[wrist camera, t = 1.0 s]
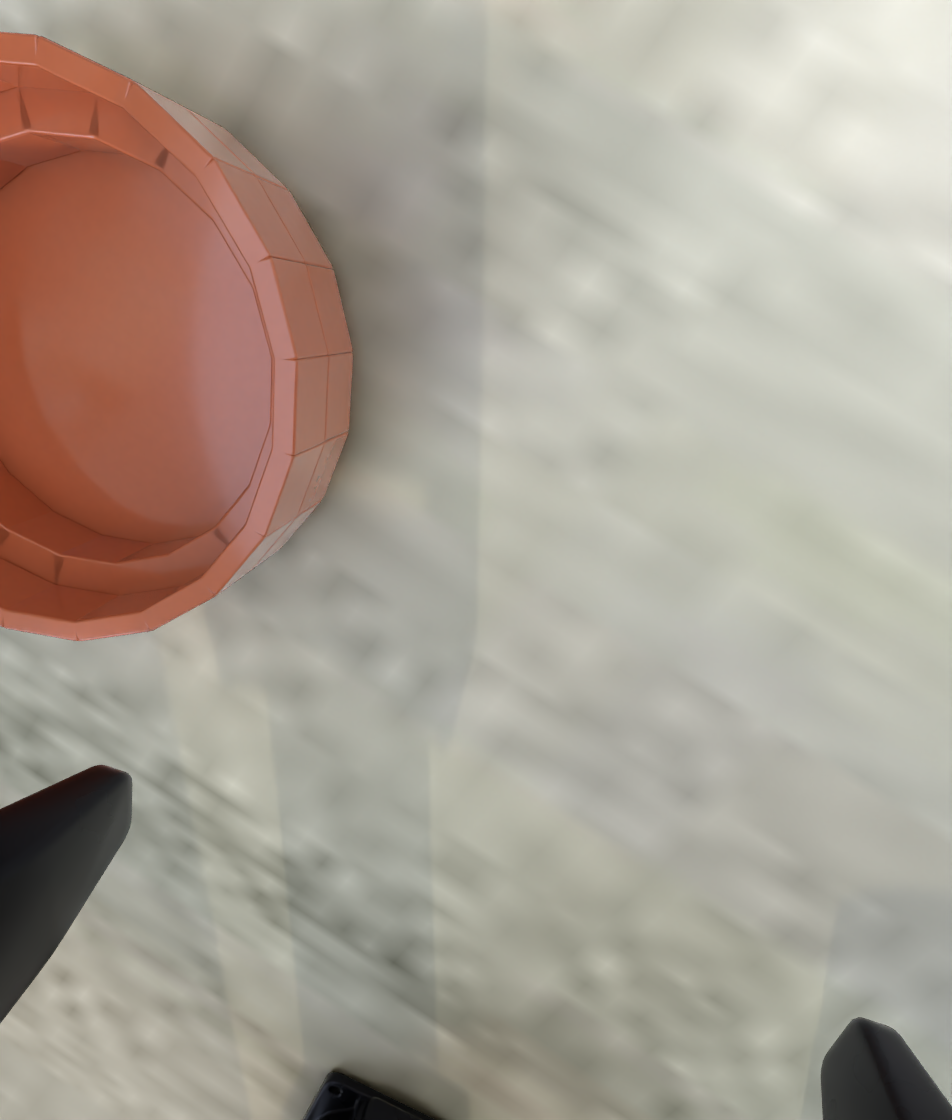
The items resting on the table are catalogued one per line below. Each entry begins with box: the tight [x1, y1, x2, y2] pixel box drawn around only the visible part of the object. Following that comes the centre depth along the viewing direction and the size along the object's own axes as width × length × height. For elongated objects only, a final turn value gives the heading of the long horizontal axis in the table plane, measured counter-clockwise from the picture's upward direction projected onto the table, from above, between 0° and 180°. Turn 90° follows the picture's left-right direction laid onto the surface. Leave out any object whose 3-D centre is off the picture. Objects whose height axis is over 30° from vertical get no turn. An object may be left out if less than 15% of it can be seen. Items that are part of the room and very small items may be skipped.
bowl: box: [0, 32, 353, 641], centre depth 20 cm, size 14×14×5 cm
